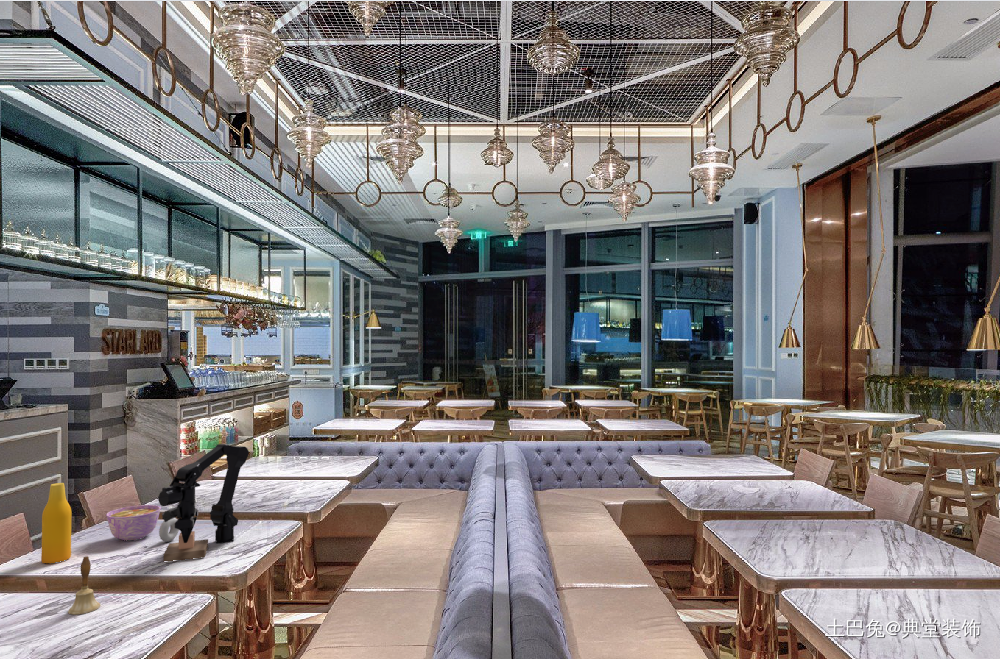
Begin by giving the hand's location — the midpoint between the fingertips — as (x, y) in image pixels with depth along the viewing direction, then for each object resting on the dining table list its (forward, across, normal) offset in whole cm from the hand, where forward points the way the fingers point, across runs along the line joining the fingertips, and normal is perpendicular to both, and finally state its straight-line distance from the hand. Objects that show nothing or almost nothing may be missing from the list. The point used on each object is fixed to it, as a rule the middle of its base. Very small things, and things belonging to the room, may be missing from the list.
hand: (186, 540), depth 234 cm
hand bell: (+6, +44, -23) cm, 50 cm away
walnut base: (+6, 0, 0) cm, 6 cm away
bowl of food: (+6, -32, -24) cm, 40 cm away
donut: (+6, -21, -9) cm, 24 cm away
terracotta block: (+2, 0, 0) cm, 2 cm away
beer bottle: (+6, -12, -46) cm, 48 cm away
